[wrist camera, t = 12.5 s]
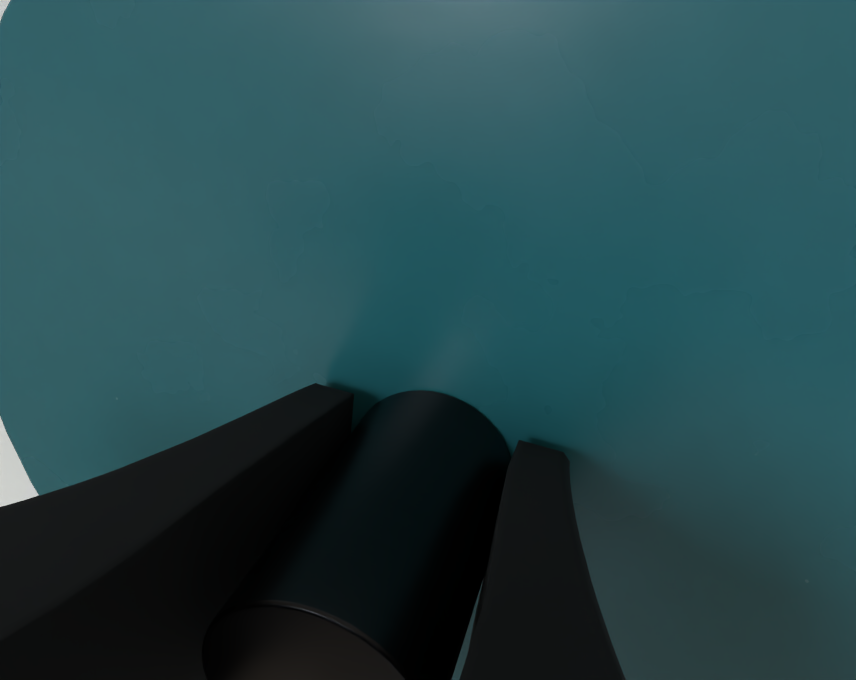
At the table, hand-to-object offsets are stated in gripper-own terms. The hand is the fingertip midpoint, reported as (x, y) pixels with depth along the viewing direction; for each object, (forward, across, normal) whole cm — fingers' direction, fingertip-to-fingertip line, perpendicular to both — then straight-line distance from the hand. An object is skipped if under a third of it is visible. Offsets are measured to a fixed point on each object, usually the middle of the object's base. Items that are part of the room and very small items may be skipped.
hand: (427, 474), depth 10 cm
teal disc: (+1, 0, 0) cm, 1 cm away
